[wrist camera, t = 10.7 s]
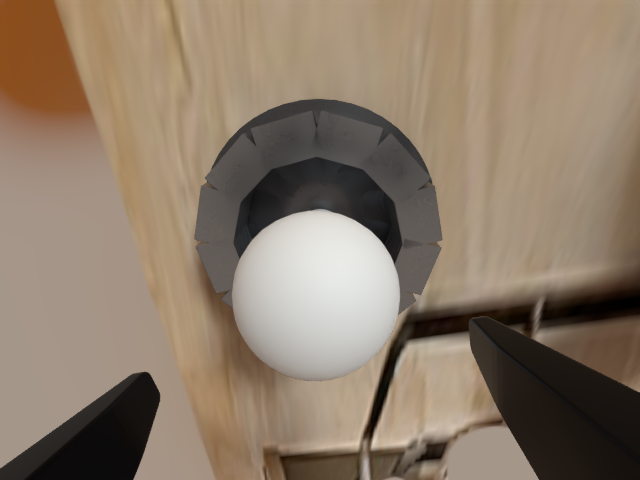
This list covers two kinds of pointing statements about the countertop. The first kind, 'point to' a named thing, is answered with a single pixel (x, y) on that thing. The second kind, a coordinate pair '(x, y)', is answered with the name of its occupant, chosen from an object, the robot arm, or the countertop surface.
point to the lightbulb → (315, 295)
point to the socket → (320, 187)
